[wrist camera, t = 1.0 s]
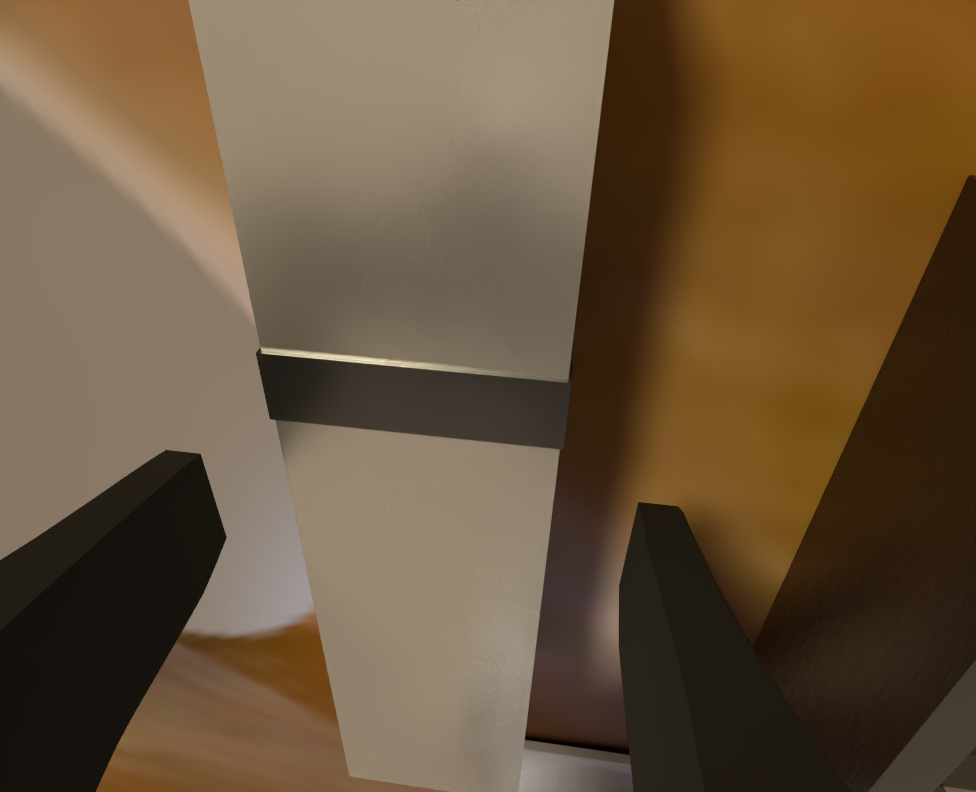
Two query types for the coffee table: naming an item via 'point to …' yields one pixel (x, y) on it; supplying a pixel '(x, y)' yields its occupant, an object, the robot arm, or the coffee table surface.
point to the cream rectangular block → (416, 336)
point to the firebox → (896, 558)
